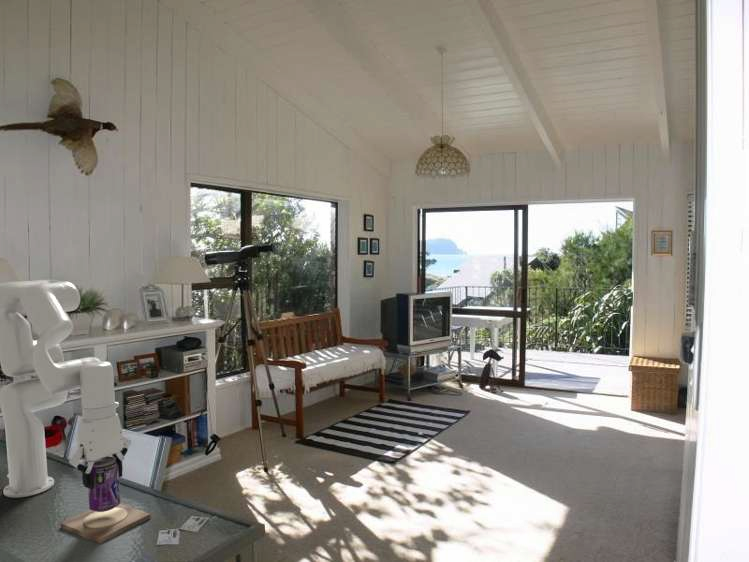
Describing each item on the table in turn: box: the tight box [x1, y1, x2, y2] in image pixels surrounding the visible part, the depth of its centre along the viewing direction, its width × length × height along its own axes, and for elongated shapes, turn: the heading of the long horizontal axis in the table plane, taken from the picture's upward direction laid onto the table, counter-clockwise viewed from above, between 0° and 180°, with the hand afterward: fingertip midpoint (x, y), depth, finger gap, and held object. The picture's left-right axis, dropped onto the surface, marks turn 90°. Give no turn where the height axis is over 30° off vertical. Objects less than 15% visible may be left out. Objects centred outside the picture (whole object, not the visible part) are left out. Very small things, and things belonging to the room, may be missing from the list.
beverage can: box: [87, 455, 121, 512], centre depth 146 cm, size 7×7×12 cm
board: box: [60, 503, 152, 545], centre depth 147 cm, size 16×14×2 cm
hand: (103, 481), depth 146 cm, fingers closed on beverage can, 7 cm apart
